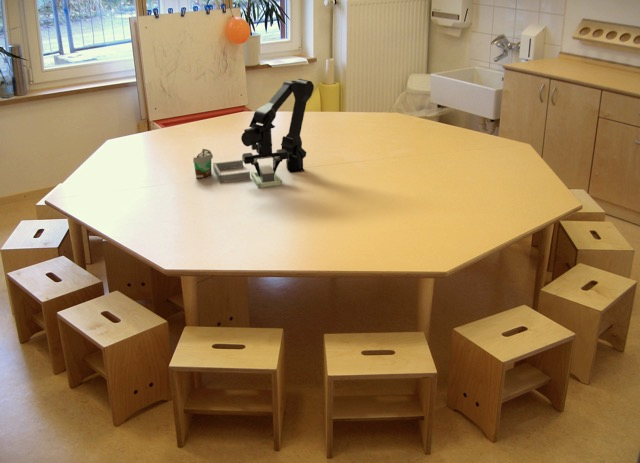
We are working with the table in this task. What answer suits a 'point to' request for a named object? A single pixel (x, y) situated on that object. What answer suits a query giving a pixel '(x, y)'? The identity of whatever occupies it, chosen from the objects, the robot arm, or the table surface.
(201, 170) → the food container
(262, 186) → the tray
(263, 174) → the beige gray rectangular block
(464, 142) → the table surface
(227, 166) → the bay
